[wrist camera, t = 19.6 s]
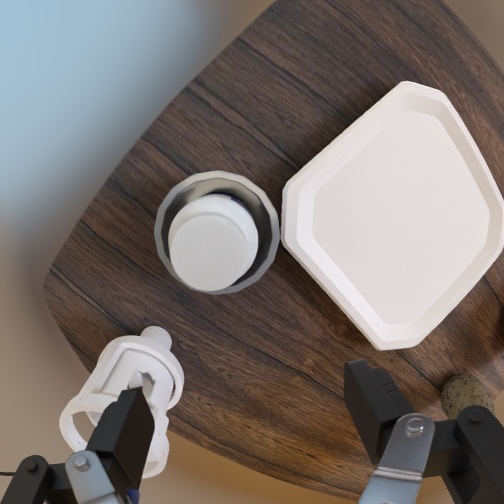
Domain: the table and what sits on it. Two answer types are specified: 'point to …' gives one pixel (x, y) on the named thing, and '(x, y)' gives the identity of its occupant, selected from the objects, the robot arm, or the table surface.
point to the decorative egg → (464, 395)
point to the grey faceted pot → (242, 189)
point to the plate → (396, 216)
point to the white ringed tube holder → (131, 377)
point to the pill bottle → (213, 241)
